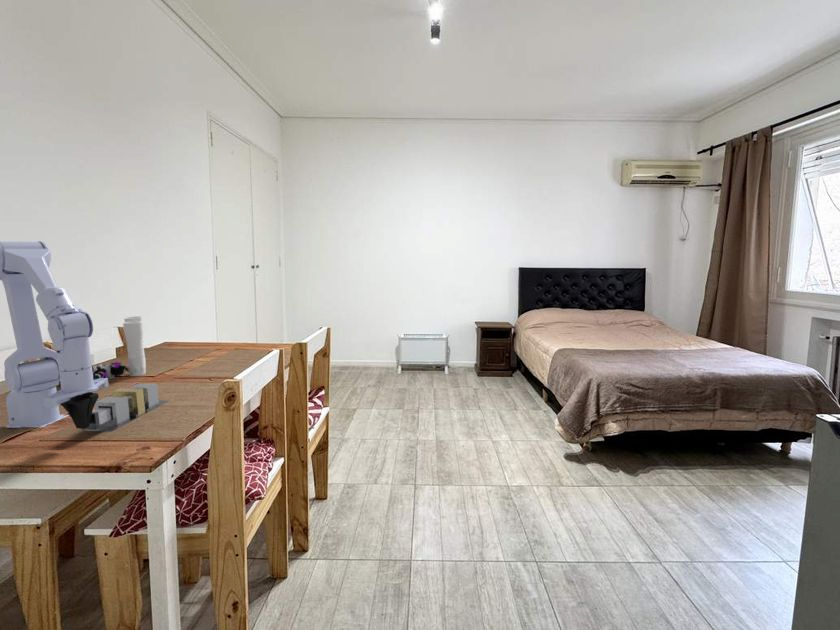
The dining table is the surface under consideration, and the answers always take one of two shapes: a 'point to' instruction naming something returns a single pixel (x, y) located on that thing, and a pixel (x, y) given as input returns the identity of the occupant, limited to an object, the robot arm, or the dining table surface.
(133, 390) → the spacer
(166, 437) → the dining table surface
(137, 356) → the white plastic bottle
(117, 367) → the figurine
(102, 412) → the shaft
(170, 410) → the dining table surface
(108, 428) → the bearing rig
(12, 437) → the dining table surface
